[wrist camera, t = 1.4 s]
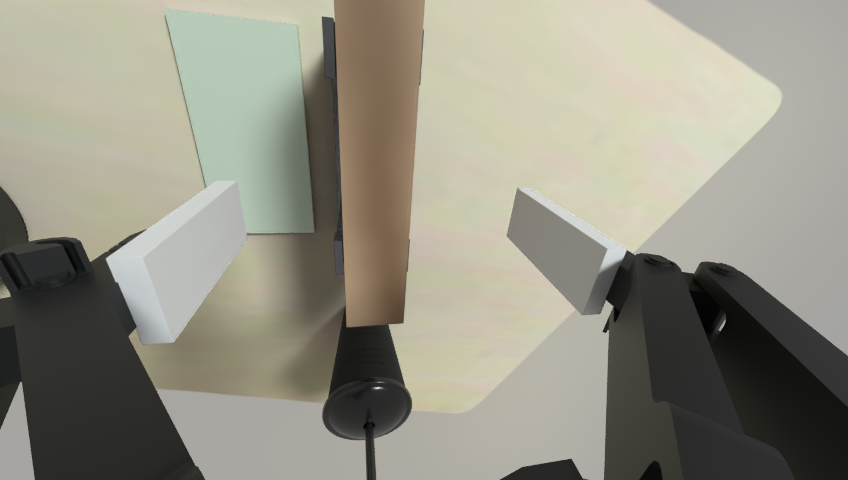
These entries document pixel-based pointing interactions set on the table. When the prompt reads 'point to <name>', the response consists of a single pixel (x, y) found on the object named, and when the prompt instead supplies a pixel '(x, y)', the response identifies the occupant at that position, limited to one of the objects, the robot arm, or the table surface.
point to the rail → (377, 150)
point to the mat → (248, 113)
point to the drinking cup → (366, 388)
